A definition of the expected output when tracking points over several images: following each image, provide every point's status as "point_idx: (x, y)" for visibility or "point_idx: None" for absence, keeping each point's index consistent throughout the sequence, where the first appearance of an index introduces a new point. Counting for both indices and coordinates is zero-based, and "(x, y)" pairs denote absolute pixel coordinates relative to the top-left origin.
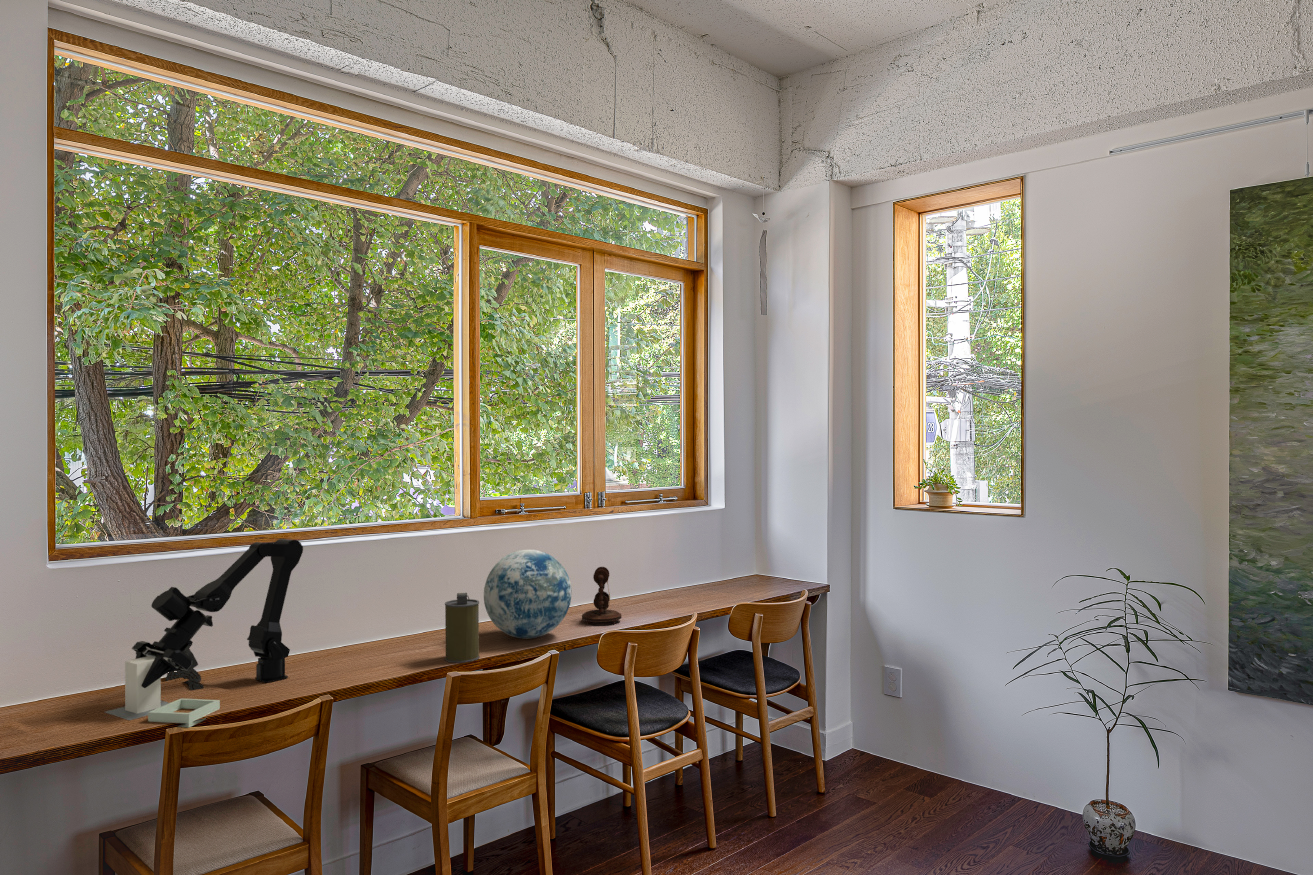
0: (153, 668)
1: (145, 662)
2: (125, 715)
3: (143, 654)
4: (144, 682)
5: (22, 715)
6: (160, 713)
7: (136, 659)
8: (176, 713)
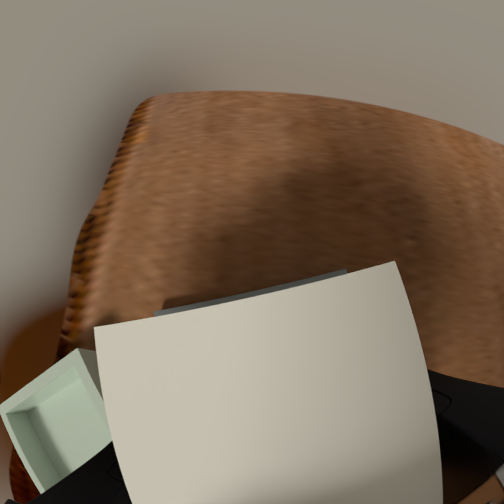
0: (95, 458)
1: (110, 432)
2: None
3: (484, 473)
4: None
5: (457, 139)
6: (48, 370)
7: (390, 397)
8: (16, 393)
